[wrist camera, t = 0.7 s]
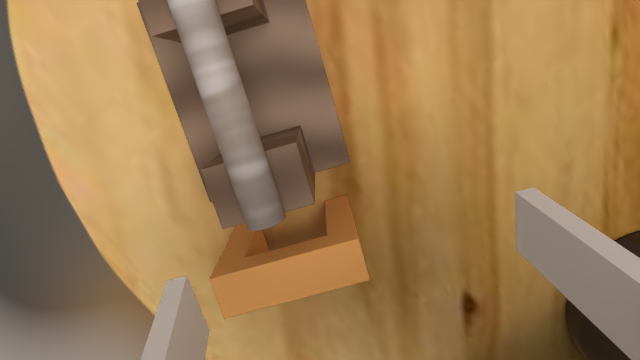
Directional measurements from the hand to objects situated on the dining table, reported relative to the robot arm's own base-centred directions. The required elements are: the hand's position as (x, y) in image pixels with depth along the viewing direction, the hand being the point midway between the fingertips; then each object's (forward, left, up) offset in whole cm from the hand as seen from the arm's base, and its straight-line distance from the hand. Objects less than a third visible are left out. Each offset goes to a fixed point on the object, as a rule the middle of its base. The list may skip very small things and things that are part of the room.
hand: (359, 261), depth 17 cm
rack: (+8, +5, -20) cm, 22 cm away
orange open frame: (-5, +5, -20) cm, 21 cm away
